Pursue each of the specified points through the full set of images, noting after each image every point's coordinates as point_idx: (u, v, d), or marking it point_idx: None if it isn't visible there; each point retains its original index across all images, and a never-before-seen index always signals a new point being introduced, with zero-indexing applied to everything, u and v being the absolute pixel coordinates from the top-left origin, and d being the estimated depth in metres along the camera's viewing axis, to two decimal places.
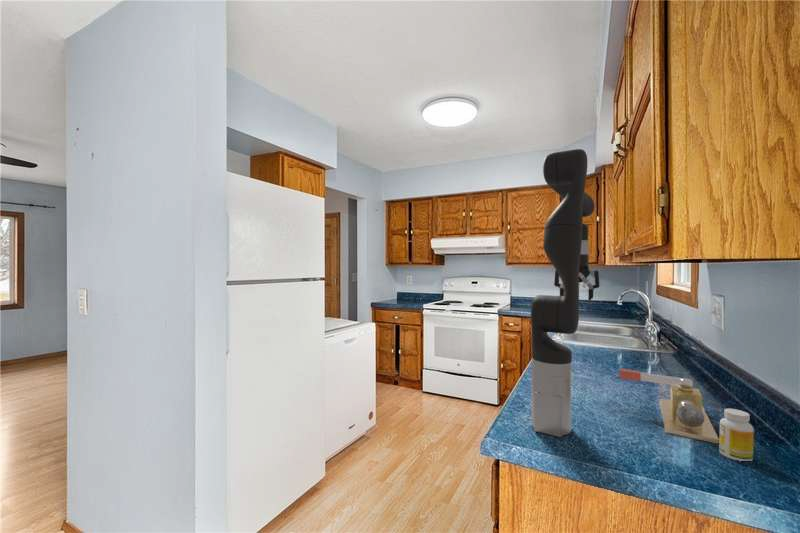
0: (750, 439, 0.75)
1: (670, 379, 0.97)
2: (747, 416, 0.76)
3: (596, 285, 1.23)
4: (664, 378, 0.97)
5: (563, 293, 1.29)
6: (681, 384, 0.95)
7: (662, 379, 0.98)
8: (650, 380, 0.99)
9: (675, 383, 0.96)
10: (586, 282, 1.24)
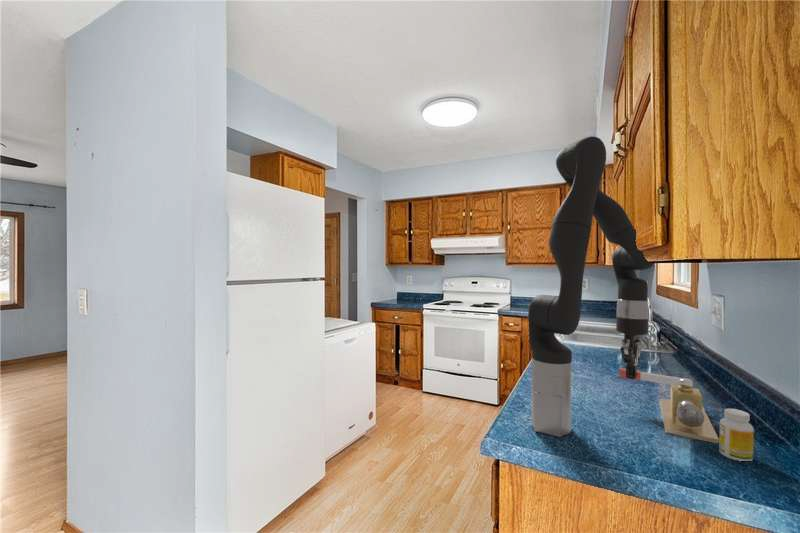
0: (750, 439, 0.75)
1: (670, 379, 0.97)
2: (747, 416, 0.76)
3: (638, 358, 1.01)
4: (664, 378, 0.98)
5: (635, 372, 0.99)
6: (681, 383, 0.95)
7: (662, 379, 0.98)
8: (650, 380, 0.99)
9: (675, 383, 0.96)
10: (639, 354, 1.00)
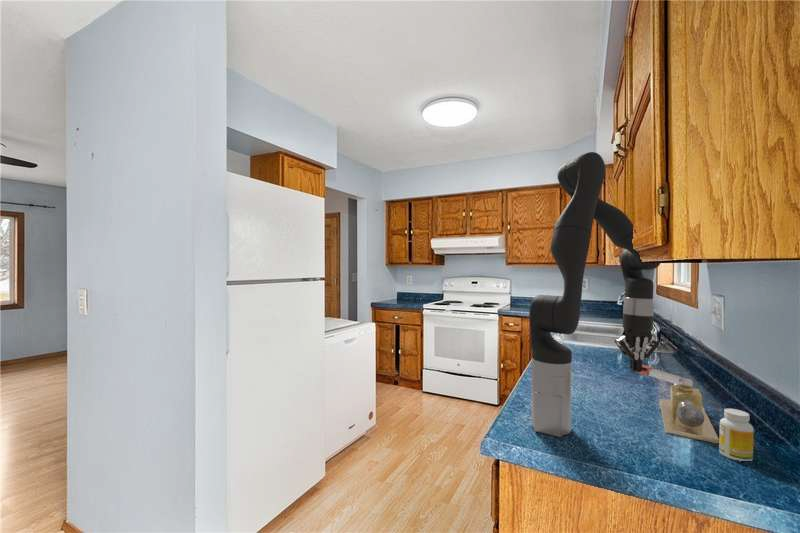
0: (750, 439, 0.75)
1: (670, 377, 0.99)
2: (747, 416, 0.76)
3: (647, 354, 1.06)
4: (665, 375, 1.00)
5: (638, 366, 1.05)
6: (679, 382, 0.96)
7: (664, 376, 1.00)
8: (655, 376, 1.03)
9: (674, 381, 0.98)
10: (643, 350, 1.05)
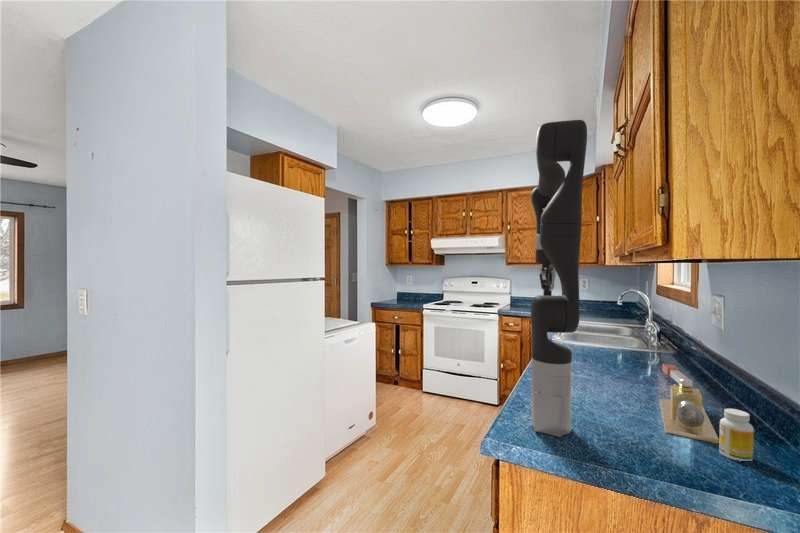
0: (750, 439, 0.75)
1: (677, 376, 0.99)
2: (747, 416, 0.76)
3: (553, 285, 1.17)
4: (675, 375, 1.00)
5: None
6: None
7: (674, 376, 1.01)
8: (671, 376, 1.03)
9: (678, 381, 0.98)
10: (553, 281, 1.15)
